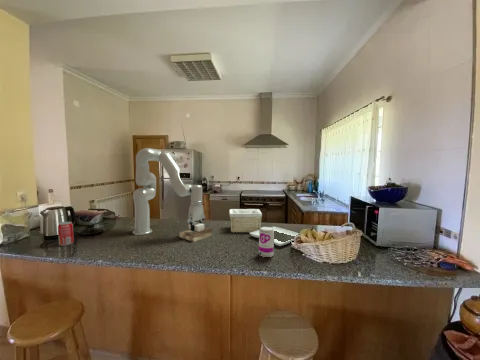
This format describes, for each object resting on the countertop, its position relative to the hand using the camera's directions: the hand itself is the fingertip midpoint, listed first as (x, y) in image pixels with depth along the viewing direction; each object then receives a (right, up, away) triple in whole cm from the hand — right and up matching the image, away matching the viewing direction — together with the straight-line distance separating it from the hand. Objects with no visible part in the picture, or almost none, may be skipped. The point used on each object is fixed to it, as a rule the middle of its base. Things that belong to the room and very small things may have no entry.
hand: (196, 229), depth 152 cm
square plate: (+55, -7, 0) cm, 55 cm away
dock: (-1, -5, +1) cm, 5 cm away
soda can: (-74, -5, -18) cm, 77 cm away
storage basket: (+33, -5, +19) cm, 38 cm away
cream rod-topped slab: (0, -1, 0) cm, 1 cm away
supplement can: (+44, -8, -28) cm, 53 cm away
